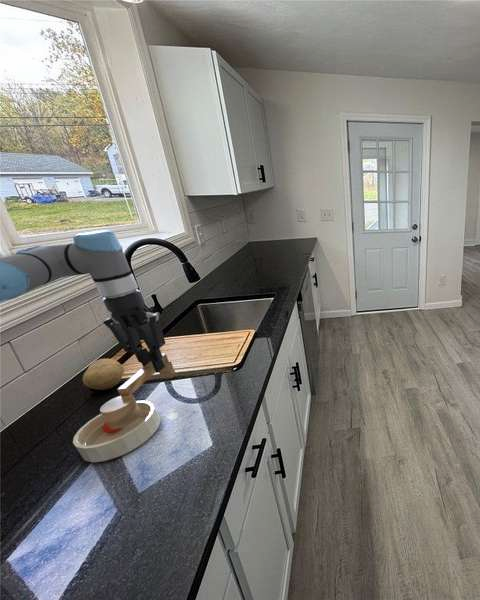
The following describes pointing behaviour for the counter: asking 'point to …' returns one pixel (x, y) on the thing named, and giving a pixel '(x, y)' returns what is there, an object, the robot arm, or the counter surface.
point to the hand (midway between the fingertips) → (155, 369)
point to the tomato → (107, 429)
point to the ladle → (131, 396)
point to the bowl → (116, 435)
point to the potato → (103, 374)
